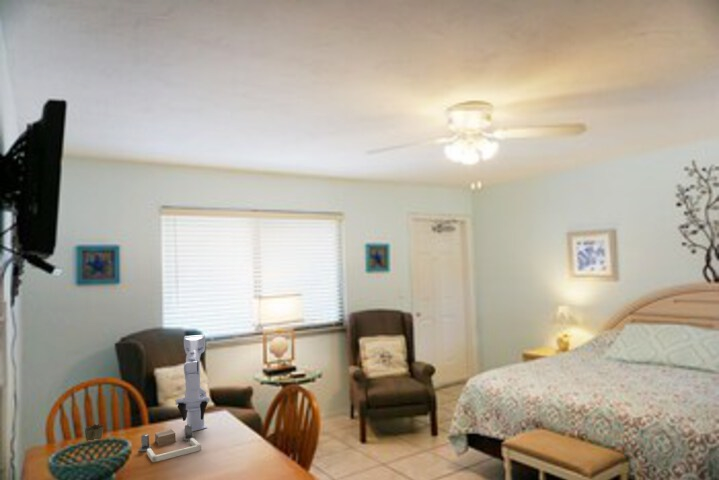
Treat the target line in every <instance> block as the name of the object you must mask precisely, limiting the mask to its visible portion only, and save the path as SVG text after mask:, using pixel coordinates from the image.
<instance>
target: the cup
mask: <svg viewBox="0 0 719 480" xmlns="http://www.w3.org/2000/svg"><path fill="white" fill-rule="evenodd" d="M103 433H104V424H103V423H102V424H101V425H100V424H99V423H98V424H97V423H95V424H93V425H90V426H86V427H85V428H84V436H85V439H86V441H87V442H88V440H94V439H100V440H101V439H102V437H103V435H104V434H103Z"/></svg>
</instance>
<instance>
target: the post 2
mask: <svg viewBox="0 0 719 480" xmlns="http://www.w3.org/2000/svg"><path fill="white" fill-rule="evenodd" d="M195 437H196V436H195V435H193V431H192V425H191V424H189V425H187V424H186V425H184V436H183V437H182V441H183V442H190V439H191V438H194V439H195ZM195 440H196V439H195Z"/></svg>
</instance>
